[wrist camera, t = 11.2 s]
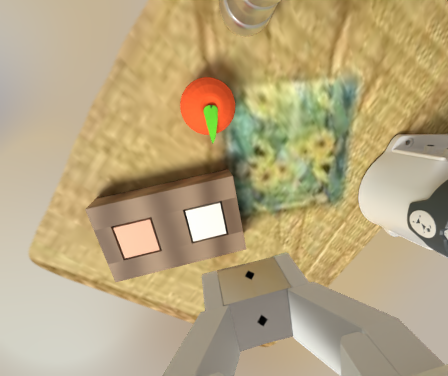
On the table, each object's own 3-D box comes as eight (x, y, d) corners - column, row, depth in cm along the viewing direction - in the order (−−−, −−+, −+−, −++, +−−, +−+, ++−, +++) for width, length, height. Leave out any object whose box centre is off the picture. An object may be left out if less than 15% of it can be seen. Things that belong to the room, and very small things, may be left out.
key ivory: (217, 196, 37) (219, 203, 35) (223, 224, 39) (226, 233, 36) (185, 203, 37) (185, 211, 34) (192, 232, 38) (193, 241, 36)
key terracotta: (152, 211, 36) (149, 219, 34) (161, 240, 38) (159, 249, 35) (118, 219, 36) (113, 228, 33) (129, 247, 38) (125, 258, 35)
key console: (228, 169, 37) (232, 175, 34) (240, 236, 41) (246, 249, 38) (95, 198, 36) (85, 209, 32) (122, 265, 40) (115, 282, 36)
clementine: (232, 136, 36) (243, 143, 29) (185, 142, 35) (186, 150, 29) (227, 77, 33) (238, 70, 27) (176, 82, 33) (175, 76, 26)
